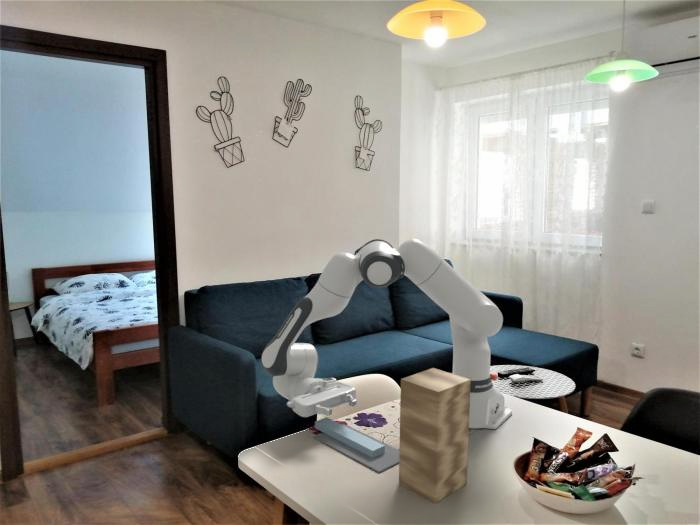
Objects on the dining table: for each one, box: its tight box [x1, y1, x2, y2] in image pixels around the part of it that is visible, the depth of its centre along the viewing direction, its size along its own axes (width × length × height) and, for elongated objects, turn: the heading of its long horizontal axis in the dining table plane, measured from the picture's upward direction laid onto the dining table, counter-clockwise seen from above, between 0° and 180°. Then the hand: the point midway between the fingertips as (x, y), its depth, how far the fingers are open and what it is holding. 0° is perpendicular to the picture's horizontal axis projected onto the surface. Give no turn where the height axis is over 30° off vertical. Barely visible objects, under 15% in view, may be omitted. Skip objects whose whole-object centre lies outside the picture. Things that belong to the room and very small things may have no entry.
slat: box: [314, 416, 385, 458], centre depth 151 cm, size 4×24×2 cm, turn 42°
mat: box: [312, 423, 399, 474], centre depth 147 cm, size 12×26×1 cm, turn 43°
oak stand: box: [398, 367, 471, 504], centre depth 127 cm, size 12×11×26 cm
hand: (342, 407), depth 151 cm, fingers open, 8 cm apart
